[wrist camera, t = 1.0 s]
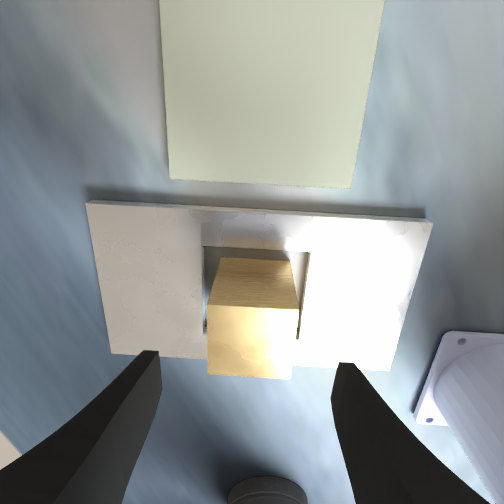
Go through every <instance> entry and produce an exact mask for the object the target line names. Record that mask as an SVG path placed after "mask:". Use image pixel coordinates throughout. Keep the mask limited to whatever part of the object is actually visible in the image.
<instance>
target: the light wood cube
mask: <svg viewBox="0 0 504 504" xmlns="http://www.w3.org/2000/svg"><path fill="white" fill-rule="evenodd" d="M298 315H299V307H298V301H297V296H296V291H295V285H294V280H293V274H292V269H291V264H290V261H283V260H266V259H249V258H232V257H221V259H220V263H219V266H218V269H217V273H216V276H215V279H214V283H213V286H212V289H211V293H210V296H209V299H208V303H207V351H208V374H215V375H231V376H247V377H263V378H279V379H290V376H291V368H292V361H293V353H294V345H295V338H296V330H297V323H298Z"/></svg>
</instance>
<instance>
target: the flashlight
mask: <svg viewBox="0 0 504 504" xmlns="http://www.w3.org/2000/svg"><path fill="white" fill-rule="evenodd" d="M228 504H308V502H307V497H306V494H305V492H304V491H303V490H302V489H301V488H300V487H299V486H298V485H296V484H295V483H293V482H291V481H289V480H286V479H283V478H279V477H271V476H261V477H254V478H250V479H246V480H244V481H241V482H240V483H238V484H237V485H235V486H234V487H233V488H232V489H231V491H230V493H229V496H228Z"/></svg>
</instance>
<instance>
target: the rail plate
mask: <svg viewBox="0 0 504 504" xmlns="http://www.w3.org/2000/svg"><path fill="white" fill-rule="evenodd" d="M85 205H86V211H87V216H88V222H89V228H90V233H91V239H92V245H93V250H94V256H95V262H96V268H97V273H98V279H99V285H100V290H101V296H102V302H103V307H104V313H105V319H106V325H107V330H108V336H109V342H110V347H111V353H112V354H128V355H139V354H140V353H141V352H142V351H143V350H153V351H159V356H160V357H176V358H192V359H208V351H207V326H205V290H204V246H216V247H233V248H251V249H268V250H285V251H302V252H309V253H308V261H307V268H306V276H305V283H304V290H303V298H302V305H301V312H300V320H299V327H298V332H296V338H295V345H294V353H293V361H292V365H304V366H320V367H336V368H337V366H338V362H339V361H340V362H354V363H355V364H356V365H357V367H358V368H359V369H368V370H384V371H389V368H390V365H391V362H392V358H393V355H394V352H395V349H396V345H397V342H398V339H399V335H400V332H401V329H402V325H403V322H404V319H405V316H406V312H407V309H408V306H409V302H410V299H411V296H412V293H413V289H414V286H415V283H416V279H417V276H418V273H419V269H420V266H421V263H422V260H423V256H424V253H425V250H426V246H427V243H428V240H429V237H430V233H431V230H432V227H433V223H432V222H431V221H429V220H428V219H426V218H408V217H390V216H373V215H355V214H338V213H320V212H302V211H285V210H267V209H249V208H232V207H214V206H197V205H179V204H161V203H144V202H126V201H109V200H91V201H89V202H87V203H85Z"/></svg>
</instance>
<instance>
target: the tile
mask: <svg viewBox="0 0 504 504" xmlns="http://www.w3.org/2000/svg"><path fill="white" fill-rule="evenodd" d="M384 2H385V0H159V6H160V23H161V40H162V56H163V73H164V90H165V107H166V124H167V141H168V158H169V175H170V179H178V180H196V181H213V182H231V183H249V184H267V185H285V186H303V187H321V188H339V189H351V186H352V180H353V175H354V169H355V163H356V158H357V152H358V147H359V141H360V136H361V130H362V125H363V119H364V114H365V108H366V102H367V97H368V91H369V86H370V80H371V75H372V69H373V64H374V58H375V52H376V47H377V41H378V36H379V30H380V25H381V19H382V14H383V8H384Z"/></svg>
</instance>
